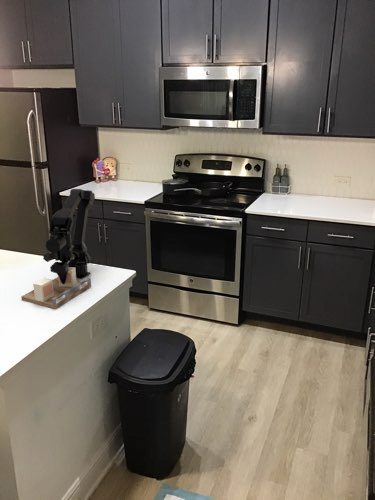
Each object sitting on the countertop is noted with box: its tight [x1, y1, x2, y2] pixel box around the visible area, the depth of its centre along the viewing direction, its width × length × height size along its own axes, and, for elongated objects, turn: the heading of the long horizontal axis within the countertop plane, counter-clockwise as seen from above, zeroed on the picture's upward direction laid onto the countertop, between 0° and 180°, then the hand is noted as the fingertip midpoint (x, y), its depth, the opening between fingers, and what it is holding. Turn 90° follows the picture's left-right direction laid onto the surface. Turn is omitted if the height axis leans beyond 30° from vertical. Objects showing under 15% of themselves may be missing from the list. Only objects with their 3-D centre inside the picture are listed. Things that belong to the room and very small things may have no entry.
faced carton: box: [32, 277, 54, 302], centre depth 168 cm, size 4×6×7 cm
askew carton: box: [57, 267, 77, 287], centre depth 180 cm, size 4×6×7 cm
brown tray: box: [21, 276, 92, 310], centre depth 176 cm, size 22×17×4 cm
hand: (67, 279), depth 181 cm, fingers open, 9 cm apart
